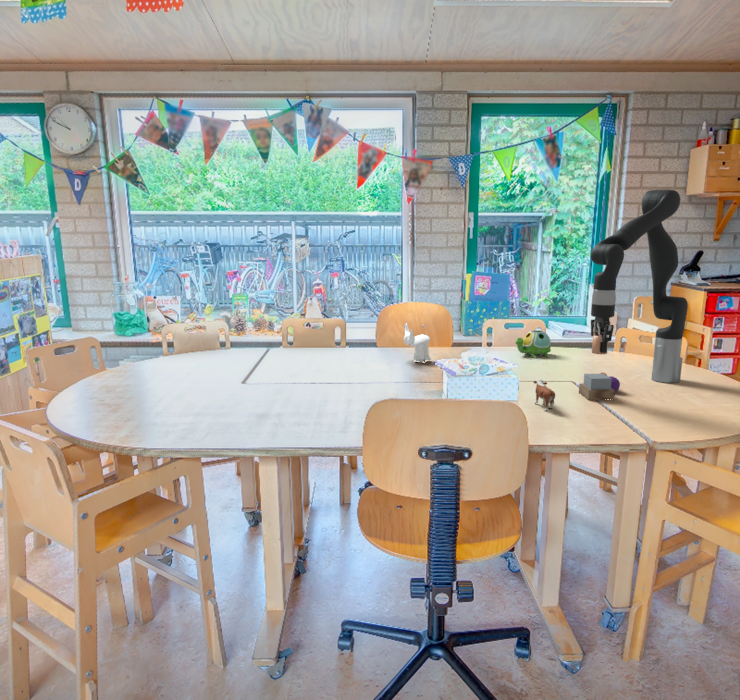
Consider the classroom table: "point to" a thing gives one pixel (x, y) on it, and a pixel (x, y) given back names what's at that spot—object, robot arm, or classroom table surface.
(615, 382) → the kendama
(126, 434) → the classroom table surface
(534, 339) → the turtle holder
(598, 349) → the terracotta cylinder
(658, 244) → the robot arm
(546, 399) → the bull figurine
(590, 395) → the bottom block
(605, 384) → the top block
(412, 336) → the toy animal
